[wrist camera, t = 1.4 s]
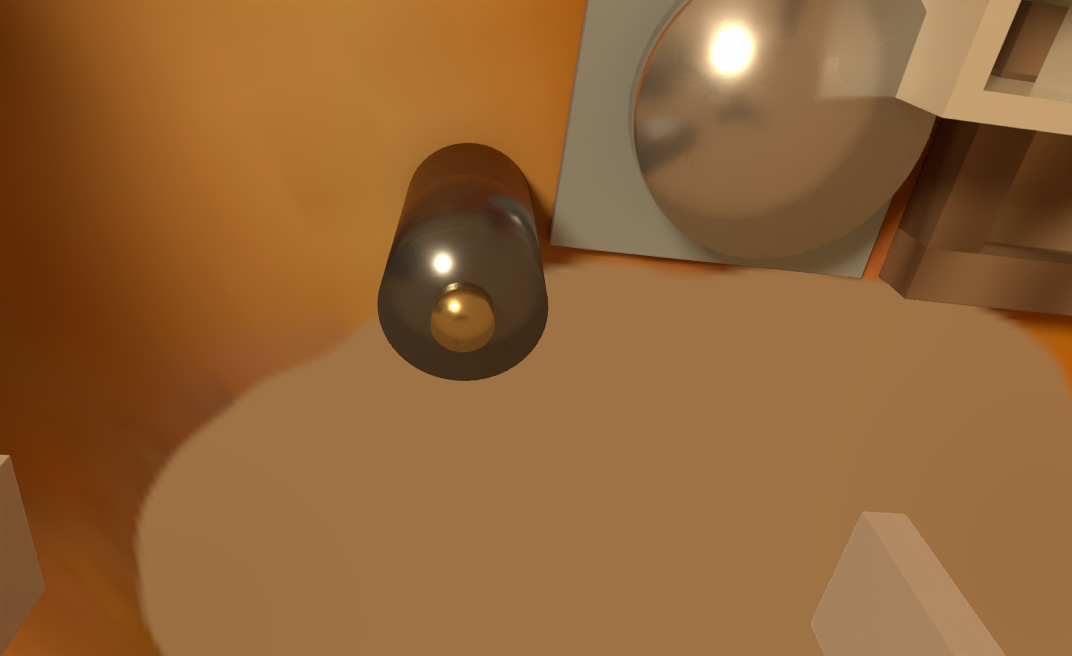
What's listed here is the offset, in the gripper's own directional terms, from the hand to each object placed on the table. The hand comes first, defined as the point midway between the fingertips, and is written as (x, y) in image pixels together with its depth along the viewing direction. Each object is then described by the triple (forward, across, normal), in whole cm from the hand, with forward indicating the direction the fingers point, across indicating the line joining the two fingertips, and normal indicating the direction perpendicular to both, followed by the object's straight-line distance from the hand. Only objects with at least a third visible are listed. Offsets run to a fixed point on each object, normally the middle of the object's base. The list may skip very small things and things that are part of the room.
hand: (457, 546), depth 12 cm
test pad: (+14, +9, +5) cm, 17 cm away
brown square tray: (+16, +21, +4) cm, 27 cm away
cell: (+16, 0, 0) cm, 16 cm away
